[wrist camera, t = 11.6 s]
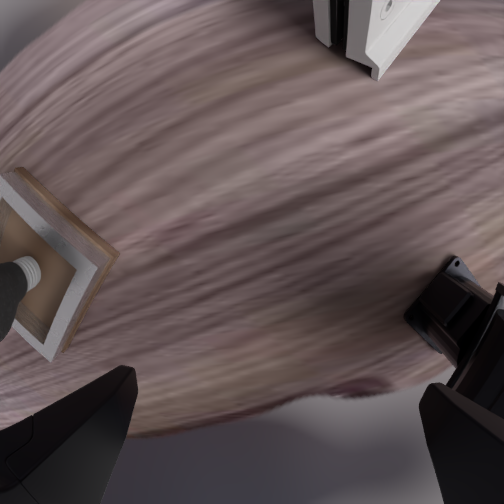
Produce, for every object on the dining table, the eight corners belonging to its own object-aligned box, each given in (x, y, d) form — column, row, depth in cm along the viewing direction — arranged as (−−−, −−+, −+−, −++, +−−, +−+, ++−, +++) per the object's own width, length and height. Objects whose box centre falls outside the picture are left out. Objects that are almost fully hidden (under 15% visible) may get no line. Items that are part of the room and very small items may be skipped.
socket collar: (110, 258, 20) (97, 267, 18) (62, 350, 22) (51, 362, 20) (15, 171, 18) (-1, 173, 16) (-17, 272, 20) (-30, 280, 18)
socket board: (120, 253, 21) (114, 257, 20) (68, 347, 23) (63, 353, 22) (23, 167, 19) (15, 167, 18) (-12, 269, 21) (-18, 273, 20)
